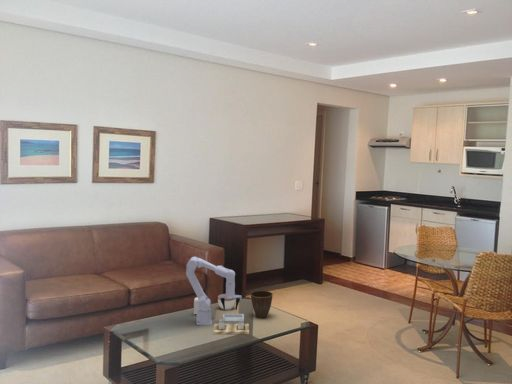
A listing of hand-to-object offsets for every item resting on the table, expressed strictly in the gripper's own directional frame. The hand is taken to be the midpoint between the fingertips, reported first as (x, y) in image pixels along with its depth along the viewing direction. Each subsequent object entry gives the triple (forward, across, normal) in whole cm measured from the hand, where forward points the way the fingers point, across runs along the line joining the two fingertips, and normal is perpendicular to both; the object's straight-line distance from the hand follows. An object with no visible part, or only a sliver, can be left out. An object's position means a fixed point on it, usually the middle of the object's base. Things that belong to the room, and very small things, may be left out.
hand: (230, 309), depth 313 cm
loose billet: (+9, +7, -11) cm, 16 cm away
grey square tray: (+9, +2, +5) cm, 11 cm away
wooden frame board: (+9, +1, -11) cm, 15 cm away
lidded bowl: (+10, -3, +30) cm, 32 cm away
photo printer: (+10, -20, +18) cm, 29 cm away
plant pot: (+10, +21, +13) cm, 26 cm away
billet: (+9, -5, -11) cm, 15 cm away
